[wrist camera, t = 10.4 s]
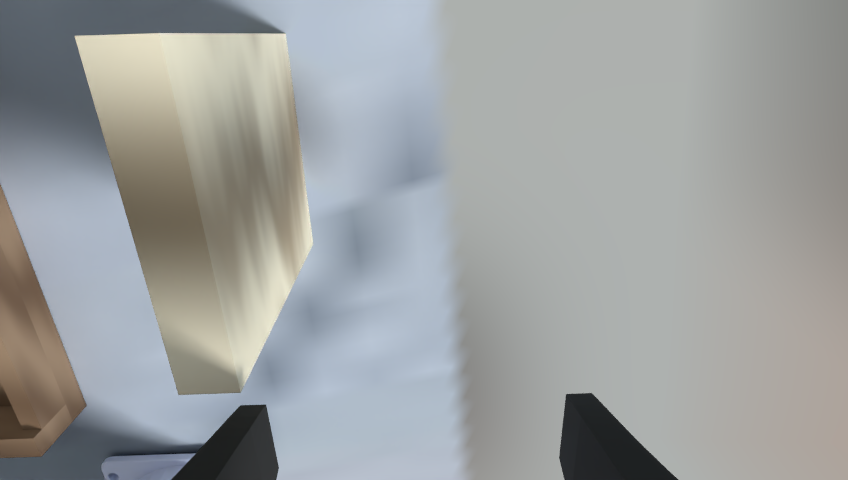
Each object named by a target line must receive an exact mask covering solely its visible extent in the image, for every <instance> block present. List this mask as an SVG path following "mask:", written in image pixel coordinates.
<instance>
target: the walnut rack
mask: <svg viewBox="0 0 848 480" xmlns="http://www.w3.org/2000/svg"><path fill="white" fill-rule="evenodd" d="M85 407H86V403H85V401H84V398H83V395H82V393H81V390H80V388H79V385H78V383H77V380H76V378H75V375H74V372H73V370H72V367H71V365H70V362H69V360H68V357H67V354H66V352H65V349H64V347H63V344H62V342H61V339H60V336H59V334H58V331H57V329H56V326H55V324H54V321H53V318H52V316H51V313H50V311H49V308H48V306H47V303H46V300H45V298H44V295H43V293H42V290H41V288H40V285H39V282H38V280H37V277H36V275H35V272H34V270H33V267H32V264H31V262H30V259H29V257H28V254H27V252H26V249H25V246H24V244H23V241H22V239H21V236H20V234H19V231H18V228H17V226H16V223H15V221H14V218H13V216H12V213H11V211H10V208H9V205H8V203H7V200H6V198H5V195H4V193H3V190H2V187H1V185H0V458H14V457H42V456H43V454H44V453H45V452H46V451H47V450H48V449H49V448H50V447H51V445H52V444H53V443H54V442H55V441H56V440H57V439H58V437H59V436H60V435H61V434H62V433H63V432H64V431H65V430H66V428H67V427H68V426H69V425H70V424H71V423H72V422H73V421H74V419H75V418H76V417H77V416H78V415H79V414H80V413H81V411H82V410H83V409H84V408H85Z"/></svg>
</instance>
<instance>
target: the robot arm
mask: <svg viewBox="0 0 848 480" xmlns="http://www.w3.org/2000/svg"><path fill="white" fill-rule="evenodd" d="M559 458H560V462H561V467H562V471H563V475H564V479H565V480H678V479H677V478H676V477H675V476H674V475H673V474H671V473H670V472H669V471H668V470H667V469H666V468H665V467H664V466H663V465H662V464H661V463H660V462H659V461H658V460H657V459H656V458H655V457H654V456H653V455H652V454H651V453H649V451H647V450H646V449H645V448H644V447H643V446H642V445H641V444H640V443H639V442H638V441H637V440H636V439H635V438H634V437H633V436H632V435H631V434H630V433H629V431H628V430H626V428H625V427H624V426H623V425H622V424H621V423H620V422H619V421H618V420H617V419H616V418H615V417H614V416H613V415H612V414H611V413H610V412H609V411H608V410H607V408H605V407H604V406H603V404H602V403H601V402H600V401H599V400H598V399H597V398H596V397H595V396H594V395H593V394H592V393H586V394H567V395H566V401H565V411H564V419H563V428H562V437H561V447H560V457H559ZM278 468H279V467H278V462H277V457H276V452H275V447H274V442H273V437H272V432H271V427H270V422H269V417H268V412H267V408H266V405H242V406H240V407H239V408H238V409H237V410H236V411H235V412H234V413H233V414H232V415H231V416H230V417H229V418H228V419H227V420H226V421H225V423H224V424H223V425H222V426H221V427H220V428H219V429H218V430H217V431H216V432H215V433H214V435H213V436H212V437H211V438H210V439H209V440H208V441H207V442H206V443H205V444H204V445H203V446H202V448H201V449H200V450H199V451H198V452H197V453H191V454H163V455H135V456H111V457H108V458H106V459H105V460H104V462H103V463H102V465H101V470H102V473H103V475H104V478H105V480H276V478H277V473H278Z"/></svg>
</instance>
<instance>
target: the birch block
mask: <svg viewBox="0 0 848 480" xmlns="http://www.w3.org/2000/svg"><path fill="white" fill-rule="evenodd" d="M75 40H76V43H77V46H78V50H79V53H80V57H81V60H82V64H83V67H84V71H85V74H86V77H87V81H88V84H89V88H90V91H91V95H92V98H93V102H94V105H95V108H96V112H97V115H98V119H99V122H100V126H101V129H102V133H103V136H104V139H105V143H106V146H107V150H108V153H109V157H110V160H111V164H112V167H113V170H114V174H115V177H116V181H117V184H118V188H119V191H120V195H121V198H122V201H123V205H124V208H125V212H126V215H127V219H128V222H129V226H130V229H131V232H132V236H133V239H134V243H135V246H136V250H137V253H138V257H139V260H140V263H141V267H142V270H143V274H144V277H145V281H146V284H147V288H148V291H149V294H150V298H151V301H152V305H153V308H154V312H155V315H156V319H157V322H158V325H159V329H160V332H161V336H162V339H163V343H164V346H165V350H166V353H167V357H168V360H169V363H170V367H171V370H172V374H173V377H174V381H175V384H176V388H177V391H178V394H179V395H189V394H218V393H241V391H242V389H243V387H244V385H245V383H246V381H247V379H248V377H249V375H250V373H251V371H252V368H253V366H254V364H255V362H256V360H257V358H258V356H259V354H260V352H261V350H262V348H263V346H264V344H265V342H266V340H267V338H268V336H269V334H270V332H271V329H272V327H273V325H274V323H275V321H276V319H277V317H278V315H279V313H280V311H281V309H282V307H283V305H284V303H285V301H286V299H287V297H288V295H289V293H290V291H291V288H292V286H293V284H294V282H295V280H296V278H297V276H298V274H299V272H300V270H301V268H302V266H303V264H304V262H305V260H306V258H307V256H308V254H309V252H310V250H311V247H312V245H313V238H312V231H311V223H310V215H309V208H308V200H307V192H306V185H305V177H304V170H303V162H302V154H301V147H300V139H299V131H298V124H297V116H296V108H295V101H294V93H293V86H292V78H291V70H290V63H289V55H288V47H287V40H286V34H266V33H148V34H117V35H86V36H75Z"/></svg>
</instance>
